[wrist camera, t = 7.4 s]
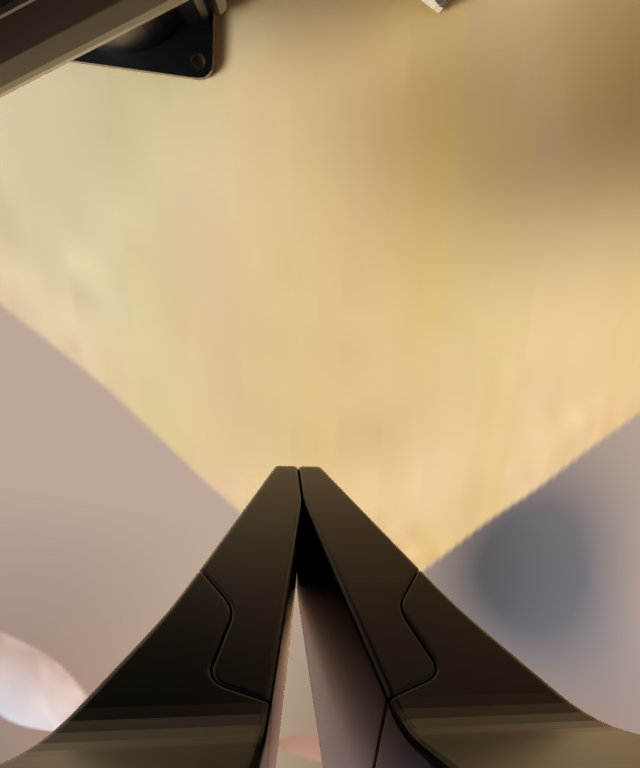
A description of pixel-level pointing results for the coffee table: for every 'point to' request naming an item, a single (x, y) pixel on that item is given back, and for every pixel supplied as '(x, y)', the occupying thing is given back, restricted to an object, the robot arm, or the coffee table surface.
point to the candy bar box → (436, 4)
